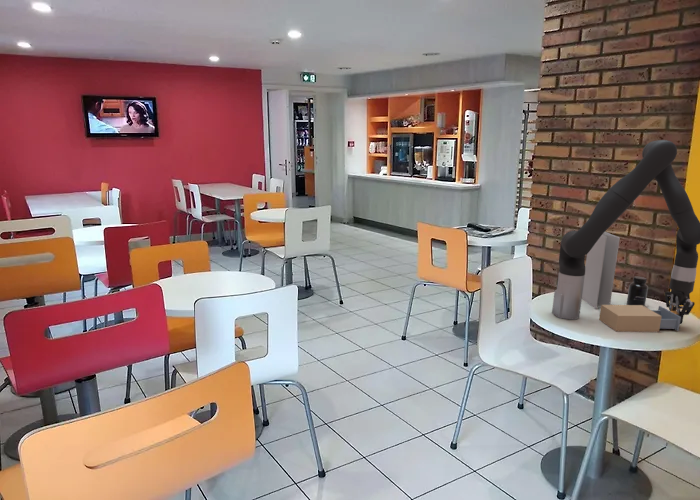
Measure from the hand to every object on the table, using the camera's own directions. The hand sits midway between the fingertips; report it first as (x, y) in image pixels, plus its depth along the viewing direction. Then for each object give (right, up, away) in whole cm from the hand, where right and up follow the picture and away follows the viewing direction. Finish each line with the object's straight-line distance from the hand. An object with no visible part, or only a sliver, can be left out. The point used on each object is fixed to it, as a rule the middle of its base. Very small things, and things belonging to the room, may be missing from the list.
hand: (675, 321), depth 192 cm
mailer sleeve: (-18, -1, 0) cm, 18 cm away
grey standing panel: (-19, +4, +24) cm, 31 cm away
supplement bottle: (-2, +4, +24) cm, 24 cm away
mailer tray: (-8, -1, 0) cm, 9 cm away
